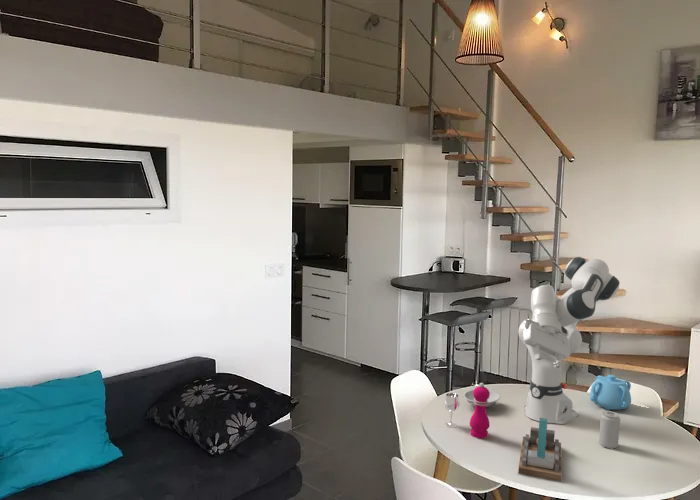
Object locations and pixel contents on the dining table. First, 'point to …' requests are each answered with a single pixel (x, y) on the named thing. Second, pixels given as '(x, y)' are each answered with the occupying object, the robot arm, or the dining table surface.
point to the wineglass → (451, 406)
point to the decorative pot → (611, 392)
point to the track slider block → (541, 449)
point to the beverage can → (609, 429)
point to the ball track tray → (551, 447)
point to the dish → (491, 400)
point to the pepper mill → (480, 413)
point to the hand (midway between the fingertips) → (548, 363)
